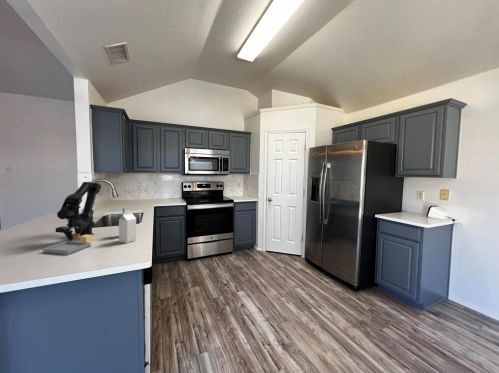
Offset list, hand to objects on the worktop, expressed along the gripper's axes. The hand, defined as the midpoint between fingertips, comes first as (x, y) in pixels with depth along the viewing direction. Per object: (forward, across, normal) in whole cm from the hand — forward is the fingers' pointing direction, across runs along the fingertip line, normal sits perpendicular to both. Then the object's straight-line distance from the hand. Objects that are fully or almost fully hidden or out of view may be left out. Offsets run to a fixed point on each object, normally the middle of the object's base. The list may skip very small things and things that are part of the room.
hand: (74, 239), depth 140 cm
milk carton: (+1, +8, -32) cm, 33 cm away
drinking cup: (+1, +17, -22) cm, 28 cm away
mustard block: (+1, 0, -9) cm, 9 cm away
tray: (+1, -13, -10) cm, 16 cm away
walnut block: (+1, 0, 0) cm, 1 cm away
